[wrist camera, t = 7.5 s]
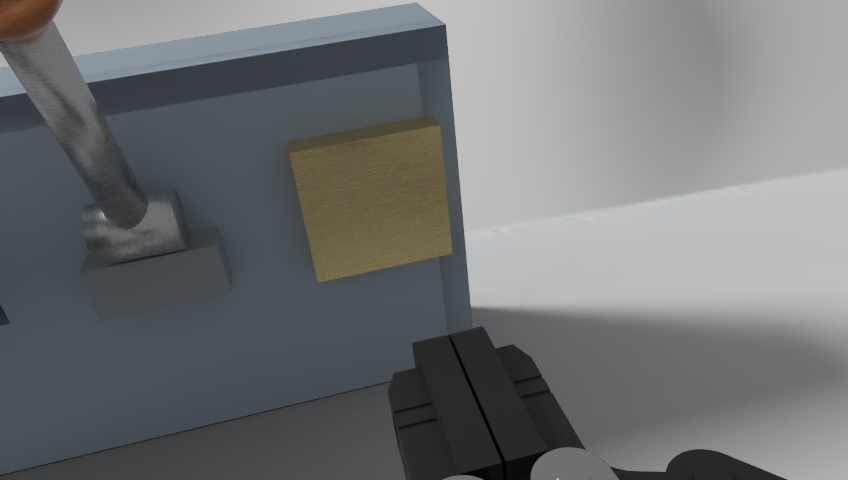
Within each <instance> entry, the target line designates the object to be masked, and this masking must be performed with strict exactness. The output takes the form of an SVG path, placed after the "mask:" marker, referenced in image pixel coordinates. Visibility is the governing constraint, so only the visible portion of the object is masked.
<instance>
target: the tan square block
mask: <svg viewBox="0 0 848 480" xmlns="http://www.w3.org/2000/svg"><path fill="white" fill-rule="evenodd" d="M287 143H288V150H289V155H290V160H291V164H292V169H293V173H294V178H295V182H296V187H297V191H298V196H299V200H300V205H301V209H302V214H303V218H304V223H305V227H306V232H307V236H308V240H309V245H310V249H311V254H312V258H313V263H314V267H315V272H316V276H317V281H318V283H319V282H324V281H328V280H333V279H338V278H342V277H347V276H352V275H356V274H361V273H365V272H370V271H375V270H379V269H384V268H389V267H393V266H398V265H403V264H407V263H412V262H417V261H421V260H426V259H431V258H435V257H440V256H444V255H449V254H453V252H452V242H451V232H450V221H449V211H448V201H447V191H446V181H445V171H444V161H443V151H442V141H441V131H440V125H439V123H438V122H437V121H436V119H435V118H434V117H433V116H432V115H429V116H424V117H418V118H413V119H407V120H402V121H396V122H391V123H385V124H380V125H374V126H369V127H363V128H358V129H352V130H347V131H342V132H336V133H331V134H325V135H320V136H314V137H309V138H303V139H298V140H292V141H287Z"/></svg>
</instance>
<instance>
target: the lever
mask: <svg viewBox="0 0 848 480" xmlns="http://www.w3.org/2000/svg"><path fill="white" fill-rule="evenodd" d="M62 2H63V0H0V51H1V53H2V54H3V56H4V58H5V59H6V60H7V62H8V64H9V66H10V67H11V69H12V70H13V72H14V73H15V75H16V77H17V78H18V80H19V81H20V83H21V85H22V86H23V88H24V89H25V91H26V92H27V94H28V96H29V97H30V99H31V100H32V102H33V104H34V105H35V107H36V108H37V110H38V111H39V113H40V115H41V116H42V118H43V119H44V121H45V122H46V124H47V126H48V127H49V129H50V130H51V132H52V134H53V135H54V137H55V138H56V140H57V141H58V143H59V145H60V146H61V148H62V149H63V151H64V153H65V154H66V156H67V157H68V159H69V160H70V162H71V164H72V165H73V167H74V168H75V170H76V172H77V173H78V175H79V176H80V178H81V179H82V181H83V183H84V184H85V186H86V187H87V189H88V191H89V192H90V194H91V195H92V197H93V198H94V200H95V202H96V203H92V204H87V205H85V206H84V207H83V210H82V229H83V234H84V238H85V242H86V245H87V248H88V250H89V253H90V255H91V256H92V258H93V260H94V261H95V262H96V263H97V264H98V265H100V266H102V265H107V264H112V263H117V262H122V261H127V260H132V259H137V258H142V257H147V256H152V255H157V254H162V253H167V252H171V251H176V250H181V249H186V248H187V247H188V243H189V238H188V228H187V222H186V218H185V214H184V210H183V207H182V204H181V201H180V198H179V196H178V194H177V192H176V191H175V189H173V188H172V189H166V190H161V191H156V192H150V193H144V192H143V190H142V188H141V186H140V184H139V182H138V180H137V178H136V176H135V175H134V173H133V171H132V169H131V167H130V165H129V163H128V161H127V159H126V158H125V156H124V154H123V152H122V150H121V148H120V146H119V144H118V142H117V141H116V139H115V137H114V135H113V133H112V131H111V129H110V127H109V125H108V124H107V122H106V120H105V118H104V116H103V114H102V112H101V110H100V108H99V107H98V105H97V103H96V101H95V99H94V97H93V95H92V93H91V91H90V90H89V88H88V86H87V84H86V82H85V80H84V78H83V76H82V75H81V73H80V71H79V69H78V67H77V65H76V63H75V61H74V59H73V58H72V56H71V54H70V52H69V50H68V48H67V46H66V44H65V42H64V41H63V39H62V37H61V35H60V33H59V31H58V29H57V27H56V25H55V24H54V22H53V20H52V19H53V18H54V17H55V15H56V14H57V12H58V10H59V8H60V6H61V4H62Z"/></svg>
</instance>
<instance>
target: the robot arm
mask: <svg viewBox="0 0 848 480" xmlns="http://www.w3.org/2000/svg"><path fill="white" fill-rule="evenodd" d="M412 348H413V355H414V362H415V368H412V369H408V370H404V371H400V372H396V373H394V374H393V377H392V381H391V384H390V388H389V391H388V394H389V400H390V405H391V411H392V416H393V422H394V427H395V432H396V438H397V443H398V448H399V452H400V456H401V460H402V463H403V467H404V471H405V475H406V479H407V480H786V479H784V478H782V477H779V476H777V475H774V474H772V473H769V472H767V471H764V470H762V469H760V468H757V467H755V466H752V465H750V464H747V463H745V462H743V461H740V460H738V459H735V458H733V457H730V456H728V455H725V454H723V453H720V452H716V451H712V450H704V449H698V450H690V451H686V452H683V453H681V454H679V455H677V456H676V457H674V458H673V459H672V460H671V462H670V463H669V464H668V467H667V469H666V472H638V471H625V470H620V469H616V468H613V467H610V466H609V465H608V464H607V463H606V462H605V461H604V460H603V459H602V458H601V457H599V456H597V455H596V454H594V453H592V452H590V451H587V450H586V449H585V448H584V446H583V445H582V443H581V441H580V440H579V438H578V436H577V435H576V433H575V431H574V430H573V428H572V426H571V424H570V423H569V421H568V419H567V418H566V416H565V414H564V412H563V411H562V409H561V407H560V406H559V404H558V402H557V401H556V399H555V397H554V395H553V394H552V393H551V392H550V389H549V387H548V385H547V383H546V382H545V380H544V379H542V375H541V373H540V372H539V370H538V368H537V366H536V365H535V363H534V361H533V360H532V358H531V357H530V356H528V355H527V354H526V353H524V352H523V351H521V350H520V349H518V348H517V347H516V346H514V345H508V346H504V347H500V348H496V349H495V348H494V346H493V344H492V342H491V340H490V338H489V336H488V334H487V332H486V331H485V329H484V328H483V327H477V328H473V329H469V330H464V331H460V332H456V333H451V334H448V336H447V335H443V336H439V337H435V338H431V339H426V340H422V341H418V342H413V343H412Z"/></svg>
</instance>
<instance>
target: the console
mask: <svg viewBox="0 0 848 480" xmlns="http://www.w3.org/2000/svg"><path fill="white" fill-rule="evenodd" d="M72 58H73V59H74V61H75V63H76V65H77V67H78V69H79V71H80V73H81V75H82V76H83V78H84V80H85V82H86V84H87V86H88V88H89V90H90V91H91V93H92V95H93V97H94V99H95V101H96V103H97V105H98V107H99V108H100V110H101V112H102V114H103V116H104V118H105V120H106V122H107V124H108V125H109V127H110V129H111V131H112V133H113V135H114V137H115V139H116V141H117V142H118V144H119V146H120V148H121V150H122V152H123V154H124V156H125V158H126V159H127V161H128V163H129V165H130V167H131V169H132V171H133V173H134V175H135V176H136V178H137V180H138V182H139V184H140V186H141V188H142V190H143V192H144V193H150V192H156V191H161V190H166V189H172V188H173V189H175V191H176V192H177V194H178V196H179V198H180V201H181V204H182V207H183V210H184V214H185V218H186V222H187V228H188V238H189V243H188V247H187V248H186V249H181V250H176V251H171V252H167V253H162V254H157V255H152V256H147V257H142V258H137V259H132V260H127V261H122V262H117V263H112V264H107V265H102V266H100V265H98V264H97V263H96V262H95V261H94V260H93V258H92V256H91V255H90V253H89V250H88V248H87V245H86V242H85V238H84V234H83V229H82V210H83V207H84V206H85V205H87V204H92V203H96V202H95V200H94V198H93V197H92V195H91V194H90V192H89V191H88V189H87V187H86V186H85V184H84V183H83V181H82V179H81V178H80V176H79V175H78V173H77V172H76V170H75V168H74V167H73V165H72V164H71V162H70V160H69V159H68V157H67V156H66V154H65V153H64V151H63V149H62V148H61V146H60V145H59V143H58V141H57V140H56V138H55V137H54V135H53V134H52V132H51V130H50V129H49V127H48V126H47V124H46V122H45V121H44V119H43V118H42V116H41V115H40V113H39V111H38V110H37V108H36V107H35V105H34V104H33V102H32V100H31V99H30V97H29V96H28V94H27V92H26V91H25V89H24V88H23V86H22V85H21V83H20V81H19V80H18V78H17V77H16V75H15V73H14V72H13V70H12V69H11V67H10V66H9V67H3V68H0V475H3V474H7V473H11V472H15V471H19V470H23V469H27V468H32V467H36V466H40V465H44V464H48V463H52V462H56V461H61V460H65V459H69V458H73V457H77V456H81V455H86V454H90V453H94V452H98V451H102V450H106V449H110V448H115V447H119V446H123V445H127V444H131V443H135V442H140V441H144V440H148V439H152V438H156V437H160V436H164V435H169V434H173V433H177V432H181V431H185V430H189V429H193V428H198V427H202V426H206V425H210V424H214V423H218V422H223V421H227V420H231V419H235V418H239V417H243V416H247V415H252V414H256V413H260V412H264V411H268V410H272V409H277V408H281V407H285V406H289V405H293V404H297V403H301V402H306V401H310V400H314V399H318V398H322V397H326V396H330V395H335V394H339V393H343V392H347V391H351V390H355V389H360V388H364V387H368V386H372V385H376V384H380V383H384V382H389V381H392V377H393V374H394V373H396V372H400V371H404V370H408V369H412V368H415V362H414V355H413V348H412V343H413V342H418V341H422V340H426V339H431V338H435V337H439V336H443V335H447V336H448V334H451V333H456V332H460V331H464V330H469V329H472V317H471V306H470V295H469V283H468V272H467V261H466V249H465V238H464V227H463V215H462V205H461V194H460V181H459V171H458V159H457V148H456V136H455V125H454V114H453V102H452V91H451V80H450V68H449V57H448V46H447V35H446V24H444V23H443V22H442V21H440V20H439V19H437V18H436V17H435V16H434V15H432V14H431V13H430V12H428V11H427V10H426V9H424V8H423V7H422V6H420V5H419V4H418V3H411V4H404V5H398V6H392V7H385V8H379V9H373V10H366V11H361V12H354V13H348V14H341V15H335V16H328V17H322V18H316V19H309V20H303V21H296V22H290V23H284V24H277V25H271V26H265V27H258V28H251V29H245V30H239V31H232V32H226V33H220V34H214V35H207V36H201V37H195V38H188V39H181V40H175V41H169V42H162V43H156V44H150V45H143V46H137V47H131V48H124V49H118V50H112V51H105V52H99V53H92V54H87V55H80V56H73V57H72ZM429 115H432V116H433V117H434V118H435V119H436V121H437V122H438V123H439V125H440V131H441V141H442V151H443V161H444V171H445V181H446V191H447V201H448V211H449V221H450V232H451V242H452V252H453V254H449V255H444V256H440V257H435V258H431V259H426V260H421V261H417V262H412V263H407V264H403V265H398V266H393V267H389V268H384V269H379V270H375V271H370V272H365V273H361V274H356V275H352V276H347V277H342V278H338V279H333V280H328V281H324V282H319V283H318V281H317V276H316V272H315V267H314V263H313V258H312V254H311V249H310V245H309V240H308V236H307V232H306V227H305V223H304V218H303V214H302V209H301V205H300V200H299V196H298V191H297V187H296V182H295V178H294V173H293V169H292V164H291V160H290V155H289V150H288V143H287V141H292V140H298V139H303V138H309V137H314V136H320V135H325V134H331V133H336V132H342V131H347V130H352V129H358V128H363V127H369V126H374V125H380V124H385V123H391V122H396V121H402V120H407V119H413V118H418V117H424V116H429Z"/></svg>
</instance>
